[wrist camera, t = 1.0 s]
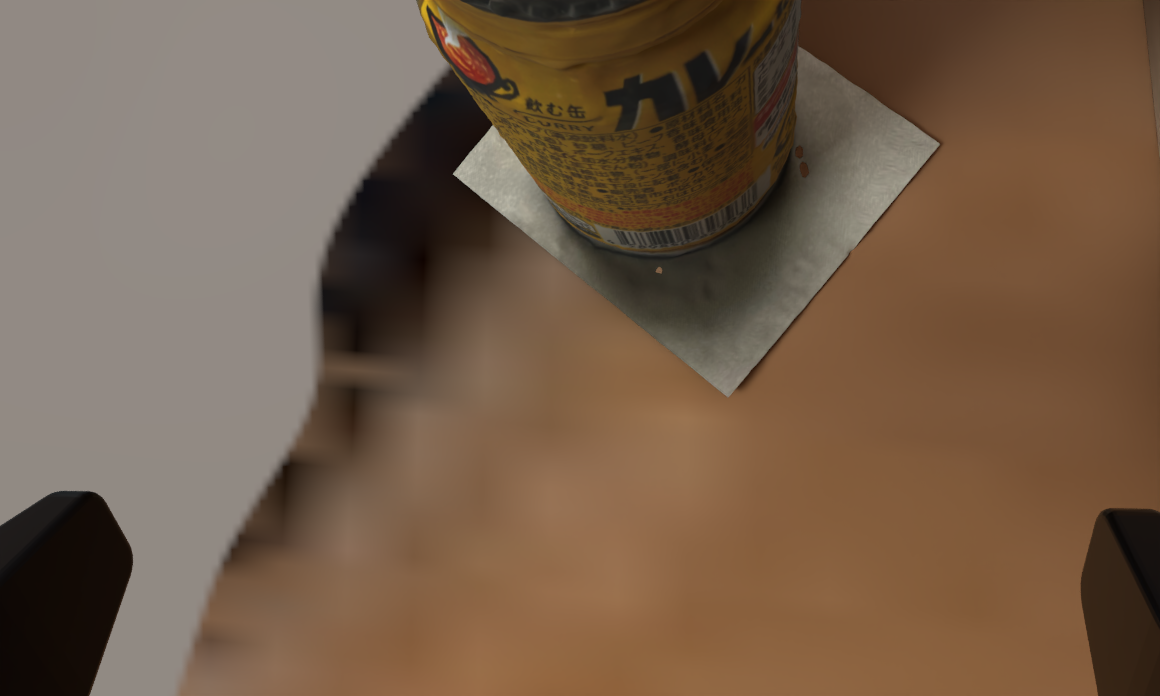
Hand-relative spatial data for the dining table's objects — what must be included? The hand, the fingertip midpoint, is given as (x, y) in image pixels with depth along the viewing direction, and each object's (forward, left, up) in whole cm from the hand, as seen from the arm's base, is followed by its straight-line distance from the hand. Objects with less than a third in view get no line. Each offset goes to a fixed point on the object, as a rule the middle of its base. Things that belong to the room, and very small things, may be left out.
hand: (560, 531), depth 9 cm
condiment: (+8, 0, -14) cm, 16 cm away
